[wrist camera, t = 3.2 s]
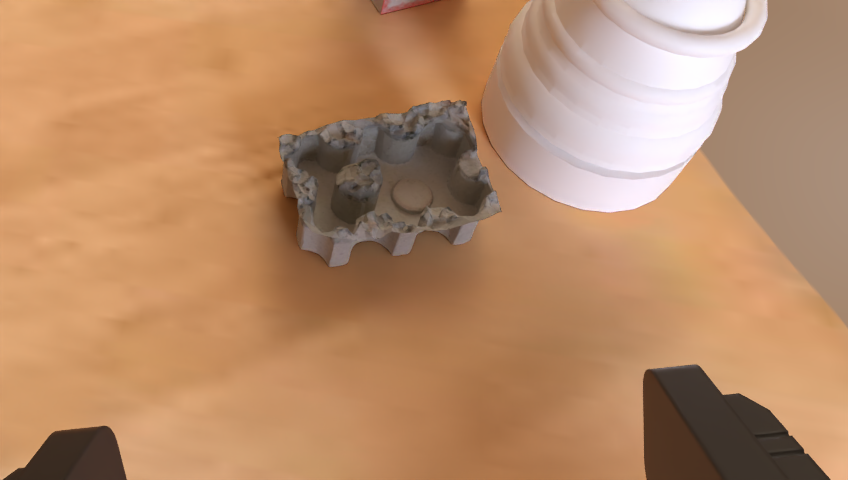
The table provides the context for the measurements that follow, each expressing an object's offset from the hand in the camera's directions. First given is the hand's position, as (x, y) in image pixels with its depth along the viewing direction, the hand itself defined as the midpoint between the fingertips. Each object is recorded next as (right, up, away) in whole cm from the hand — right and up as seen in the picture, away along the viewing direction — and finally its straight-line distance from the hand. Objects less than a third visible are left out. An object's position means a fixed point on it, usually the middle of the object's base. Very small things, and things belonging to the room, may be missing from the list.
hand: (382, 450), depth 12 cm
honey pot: (+10, +10, +37) cm, 40 cm away
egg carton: (-2, +5, +30) cm, 31 cm away
